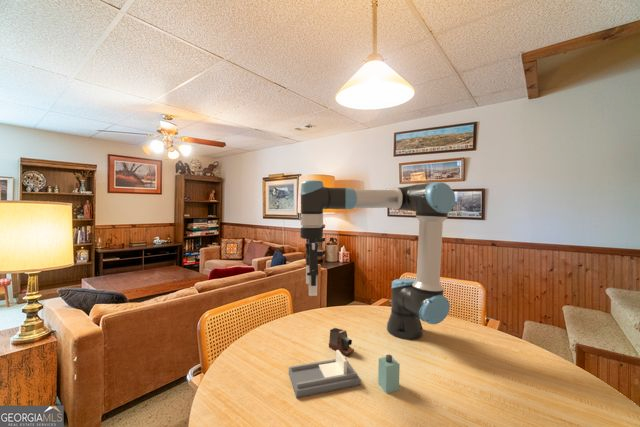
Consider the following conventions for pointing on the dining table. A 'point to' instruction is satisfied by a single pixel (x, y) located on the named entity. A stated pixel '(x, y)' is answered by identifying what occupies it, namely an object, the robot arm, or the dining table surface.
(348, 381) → the socket board
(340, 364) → the shutter
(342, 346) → the electronic device
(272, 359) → the dining table surface
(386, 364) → the teal bottle
